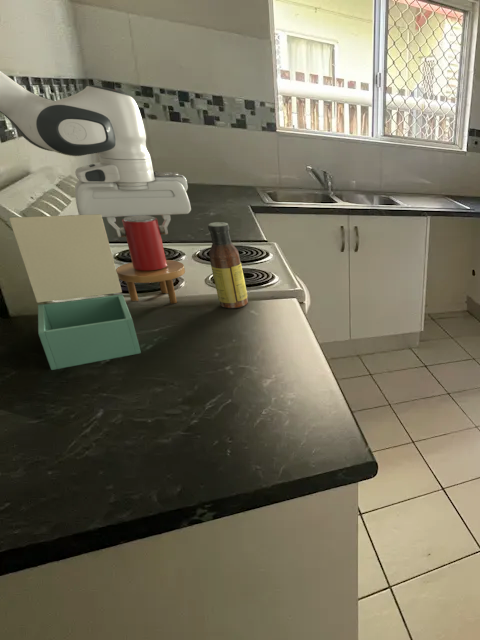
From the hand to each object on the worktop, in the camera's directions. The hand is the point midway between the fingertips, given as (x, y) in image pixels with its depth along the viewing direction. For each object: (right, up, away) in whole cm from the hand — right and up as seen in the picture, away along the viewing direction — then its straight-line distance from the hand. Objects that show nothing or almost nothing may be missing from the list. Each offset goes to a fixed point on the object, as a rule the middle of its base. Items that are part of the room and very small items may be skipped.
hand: (143, 235), depth 108 cm
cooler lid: (0, -8, -18) cm, 20 cm away
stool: (-1, -14, +7) cm, 16 cm away
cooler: (+4, -26, -17) cm, 31 cm away
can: (-1, -7, +3) cm, 7 cm away
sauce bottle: (+16, -16, +8) cm, 24 cm away
